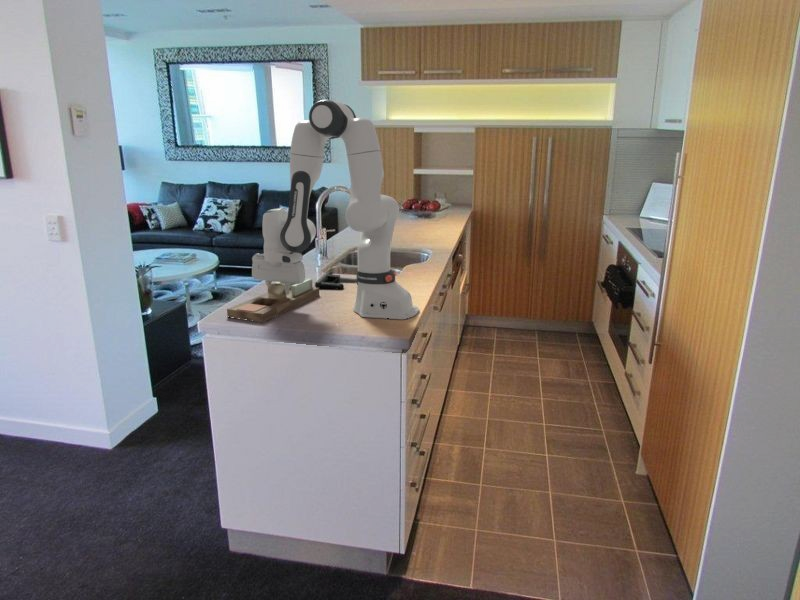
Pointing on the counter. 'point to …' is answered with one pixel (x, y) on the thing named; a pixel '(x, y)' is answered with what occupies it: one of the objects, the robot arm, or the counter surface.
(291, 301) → the board
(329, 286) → the door handle
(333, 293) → the counter surface
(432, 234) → the counter surface
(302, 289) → the cubby
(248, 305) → the tile
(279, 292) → the cube
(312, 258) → the counter surface
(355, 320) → the counter surface
